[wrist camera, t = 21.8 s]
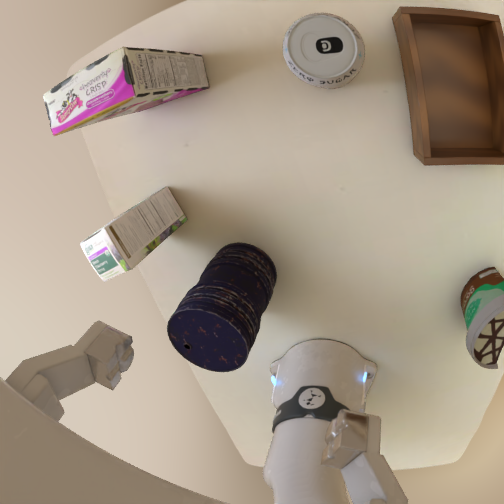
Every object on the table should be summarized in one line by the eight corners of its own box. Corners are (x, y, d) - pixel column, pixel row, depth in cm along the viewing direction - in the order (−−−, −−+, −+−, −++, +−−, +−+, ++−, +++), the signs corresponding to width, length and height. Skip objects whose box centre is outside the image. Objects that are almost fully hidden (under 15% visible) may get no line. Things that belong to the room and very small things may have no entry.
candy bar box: (140, 113, 39) (51, 139, 25) (131, 81, 37) (40, 94, 23) (213, 89, 35) (135, 98, 22) (203, 53, 33) (121, 43, 19)
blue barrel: (257, 232, 43) (219, 298, 31) (289, 290, 46) (265, 367, 34) (200, 254, 48) (150, 317, 35) (232, 306, 51) (196, 376, 38)
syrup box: (161, 233, 48) (104, 285, 35) (140, 200, 46) (77, 245, 34) (188, 219, 45) (132, 272, 33) (167, 183, 43) (102, 227, 31)
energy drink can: (298, 43, 30) (270, 14, 17) (350, 37, 28) (356, 3, 16) (308, 91, 33) (287, 92, 20) (360, 86, 31) (373, 83, 18)
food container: (459, 260, 37) (481, 304, 28) (496, 257, 35) (523, 299, 26) (447, 328, 42) (459, 376, 34) (480, 325, 40) (496, 371, 32)
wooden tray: (496, 153, 29) (516, 165, 24) (413, 154, 33) (424, 165, 28) (480, 22, 22) (499, 15, 17) (391, 17, 26) (399, 6, 21)
